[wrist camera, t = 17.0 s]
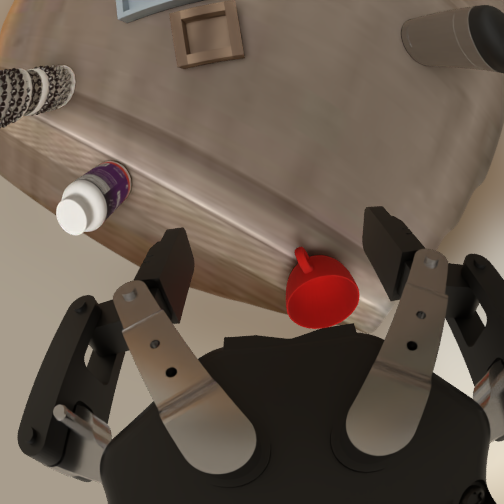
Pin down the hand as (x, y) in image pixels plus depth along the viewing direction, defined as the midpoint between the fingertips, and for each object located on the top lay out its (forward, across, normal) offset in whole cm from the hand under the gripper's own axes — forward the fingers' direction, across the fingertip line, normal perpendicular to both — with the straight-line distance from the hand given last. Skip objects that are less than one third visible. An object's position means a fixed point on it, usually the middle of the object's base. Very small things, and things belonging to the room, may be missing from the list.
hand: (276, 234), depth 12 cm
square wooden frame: (+32, +5, -16) cm, 36 cm away
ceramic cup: (+32, -6, +26) cm, 42 cm away
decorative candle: (+32, +33, -17) cm, 49 cm away
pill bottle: (+32, +26, +4) cm, 42 cm away
